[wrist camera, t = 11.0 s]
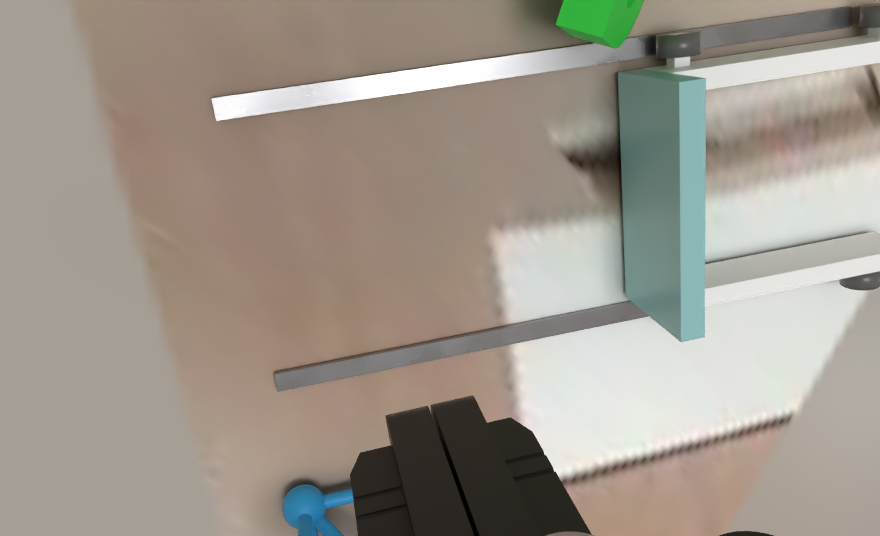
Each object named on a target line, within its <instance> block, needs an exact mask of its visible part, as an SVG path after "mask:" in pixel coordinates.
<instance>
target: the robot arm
mask: <svg viewBox="0 0 880 536" xmlns="http://www.w3.org/2000/svg"><path fill="white" fill-rule="evenodd" d="M386 422H387V428H388V433H389V438H390V443H391V446H387V447H383V448H378V449H374V450H370V451H366V452H361V453H360V454H359V456H358V459H357V461H356V463H355V465H354V468H353V470H352V472H351V474H350V478H351V486H352V493H353V499H354V508H355V515H356V522H357V530H358V536H594V535H592V534H591V533H590V531H589V529H588V527H587V526H586V524H585V522H584V520H583V519H582V517H581V515H580V514H579V512H578V510H577V508H576V507H575V505H574V503H573V501H572V500H571V498H570V496H569V494H568V493H567V491H566V489H565V488H564V486H563V484H562V482H561V481H560V479H559V477H558V475H557V474H556V472H554V470H553V467H552V465H551V463H550V462H549V460H548V458H547V456H546V455H544V451H543V449H542V448H541V446H540V444H539V442H538V441H537V439H536V437H535V436H534V434H533V432H532V431H531V430H529V429H527V428H526V427H524V426H523V425H521V424H520V423H518V422H517V421H515V420H514V419H512V418H506V419H502V420H497V421H493V422H489V423H487V422H486V420H485V418H484V416H483V414H482V412H481V410H480V408H479V406H478V404H477V402H476V400H475V398H474V396H468V397H464V398H459V399H455V400H450V401H446V402H442V403H437V404H433V405H431V413H430V410H429V407H428V406H425V407H420V408H416V409H412V410H407V411H403V412H398V413H394V414H390V415H386ZM720 536H773V535H769V534H765V533H760V532H752V531H737V532H731V533H726V534H723V535H720Z"/></svg>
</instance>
